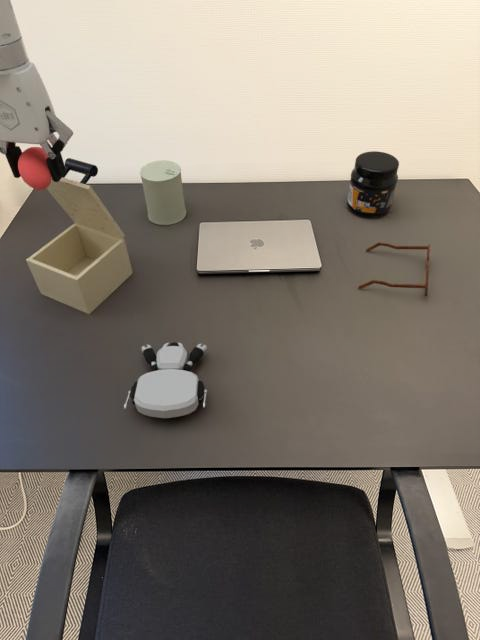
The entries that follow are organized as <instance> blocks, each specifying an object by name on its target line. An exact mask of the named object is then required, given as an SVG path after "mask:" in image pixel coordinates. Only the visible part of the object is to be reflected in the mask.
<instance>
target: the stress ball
mask: <svg viewBox="0 0 480 640" xmlns="http://www.w3.org/2000/svg"><path fill="white" fill-rule="evenodd" d="M47 158H48V155H47V154H46V153H45V151H44V150H43V148H42V147H41V146H31V147H28V148H26V149H25V150H23V151H22V154H21V155H20V157H19V160H18V169H19V173H20V178H21V179H22V180H23V182H24V183H25V184H26V185H27V186H28V187H30V188H32V189H34V190H37V191H44V190H47V189H46V188H47V187H48V186H49V185H50V183H51V174H50V171H49V168H48V165H47V162H46V159H47Z"/></svg>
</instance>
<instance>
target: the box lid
mask: <svg viewBox="0 0 480 640" xmlns="http://www.w3.org/2000/svg"><path fill="white" fill-rule="evenodd" d="M64 165H65V168H66V174H65V175H64V176H63V177H62V178H61V179H60V180H59V182H54V181H53V180H52V177H51V183H50V185H49V186H48V187H47V188H46V189H45V190H47V191H48V192H49V193H50V195H51V196H52V197H53V198H54V199H55V201H56V202H57V203H58V204H59V205H60V207H61V208H62V209H63V210H64V212H65V213H66V214H67V215H68V217H69V218H70V219H71V221H73V223H78V224H81V225H84V226H87V227H90V228H93V229H96V230H99V231H102V232H105V233H108V234H110V235H113V236H116V237H119V238H122V239H125V236H126V235H125V233H124V231H122V229H121V228H120V226H119V225H118V223H117V221H116V220H115V219H114V217H113V216H112V214H111V213H110V212H109V210H108V209H107V207H106V206H105V205H104V203H103V202H102V200H101V199H100V197H99V196H98V195H97V193H96V192H95V190H94V189H93V187H92V186H91V185H89V184H88V182H89V181H90V179H91V177H92V178H95V177H97V175H98V172H99V168H98V166H97V165H95V164H92V163H88V162H85V161H81V160H78V159H74V158H71V157H68V158H66V159H65V160H64ZM70 171H72V172H75V173H79V174H82V175H84V176H83V177H82V179H81V180H80V181H79V182H78V181H76V180H73V179H69V178H66V176H67V175H68V174H69V172H70Z"/></svg>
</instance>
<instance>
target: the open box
mask: <svg viewBox="0 0 480 640" xmlns="http://www.w3.org/2000/svg"><path fill="white" fill-rule="evenodd" d="M25 262H26V263H27V267H28V268H29V270H30V273H31V274H32V277H33V279H34V281H35V283H36V286H37V288H38V290H39V292H40V294H41V295H42V296H45V297H47V298H49V299H51V300H54V301H56V302H58V303H61V304H64V305H66V306H68V307H70V308H73V309H75V310H78V311H80V312H83V313H85V314H87V315H91V314H92V312H94V311H95V310H96V309H97V308H98V307H99V306H100V305H102V303H104V301H105V300H107V299H108V297H110V296H111V295H112V294H113V293H114V292H115V291H116V290H117V289H118V288H119V287H120V286H122V284H124V282H125V281H126V280H127V279H129V277H131V276H132V275H133V268H132V264H131V261H130V257H129V252H128V247H127V245H126V240H125V238H123V239H122V238H119V237H116V236H114V235H111V234H108V233H105V232H102V231H99V230H96V229H93V228H90V227H87V226H84V225H82V224H79V223H76V222H73V224H71V225H70V226H69V227H67V228H66V229H65V230H64V231H62V232H61V233H60V234H58V235H57V236H55V237H54V238H53V239H51V240H50V241H49V242H47V243H46V244H45V245H44V246H42V247H41V248H39V249H38V250H37V251H36V252H34V253H33V254H32V255H30V256H29V257H27V258H26V259H25Z"/></svg>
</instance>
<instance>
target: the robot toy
mask: <svg viewBox="0 0 480 640" xmlns="http://www.w3.org/2000/svg"><path fill="white" fill-rule="evenodd" d="M145 346H146V347H145ZM207 348H208V346H207V345H206V344H203V343H198V344H197V345H196V346H194V347H193V348H192V349H191V351H190V353H189V355H188V351H187V349H186V348H185V347H184V345H183V343H181V342H179V341H177V342H176V341H173V342H171V343H170V342H166V343H164V344H163V346H162V347H161V348H160V349H159V350H158V351H157V352H155V350H154V349H153V346H152V345H150V344H146V345H143V346H141V352H142V356H143V357H144V361H145V362H146V363H147V364H148V365H150V370H151V371H149V372H146V373H144V374H142V375H140V376H139V378H138V379H137V381H135V382H134V383H133V385H132V386H131V388H130V390H128V392H127V394H128V395H127V397H126V399H125V403H124V404H123V408H124V409H127V406H128V402H129V400H130V401H131V404H132V405H133V406H135V408H136V410H137V412H139V413H140V414H142V415H144V416H147V417H151V418H159V419H172V418H177V417H183V416H187V415H190V414H191V413H193V412H195V411H196V410H197V409H198V406H199V405H201V404H202V408H206V399H207V395H208V389H205V388H206V387H205V384H204V382H203V381H202V380H200V379H199V377H198V375H197V374H196V373H194V372H192V366H193V365H196V364H198V363H199V362H200V361H201V360H202V358H203V357H204V355H205V354H204V353H205V352H206V351H207Z"/></svg>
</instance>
